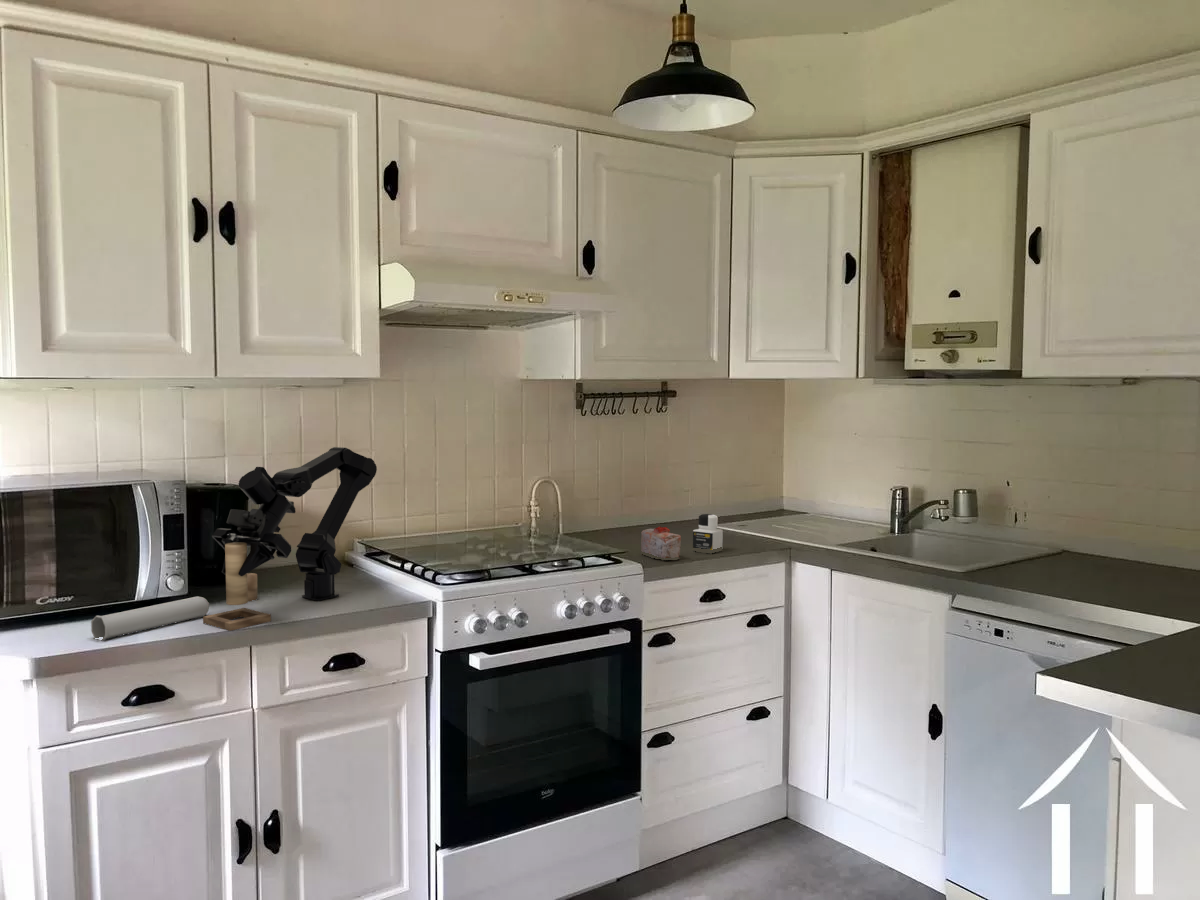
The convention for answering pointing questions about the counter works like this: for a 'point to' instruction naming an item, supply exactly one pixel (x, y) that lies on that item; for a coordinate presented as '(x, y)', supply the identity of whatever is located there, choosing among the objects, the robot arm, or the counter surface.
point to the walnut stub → (252, 586)
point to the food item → (660, 542)
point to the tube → (148, 617)
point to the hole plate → (249, 619)
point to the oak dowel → (235, 573)
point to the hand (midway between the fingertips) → (231, 574)
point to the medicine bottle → (708, 533)
